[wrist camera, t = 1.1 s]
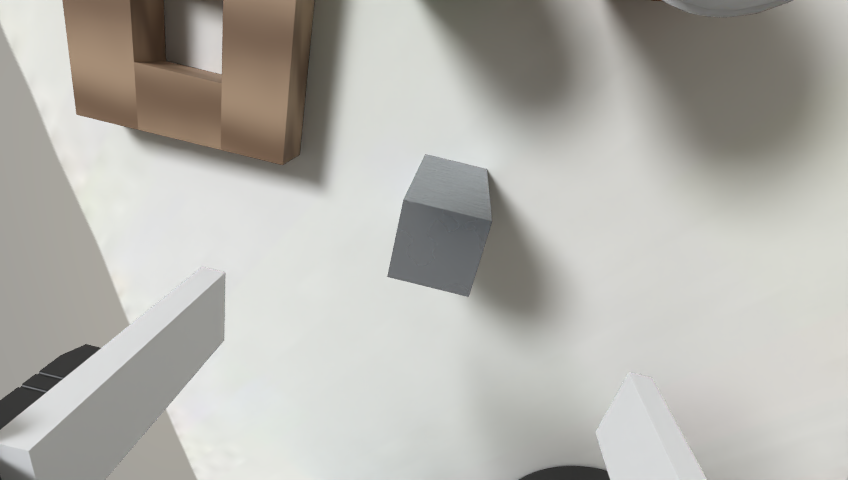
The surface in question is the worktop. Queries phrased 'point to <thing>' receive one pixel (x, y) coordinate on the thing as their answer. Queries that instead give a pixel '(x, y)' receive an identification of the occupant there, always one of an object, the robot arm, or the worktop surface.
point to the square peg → (442, 226)
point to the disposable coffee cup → (724, 6)
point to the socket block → (195, 74)
